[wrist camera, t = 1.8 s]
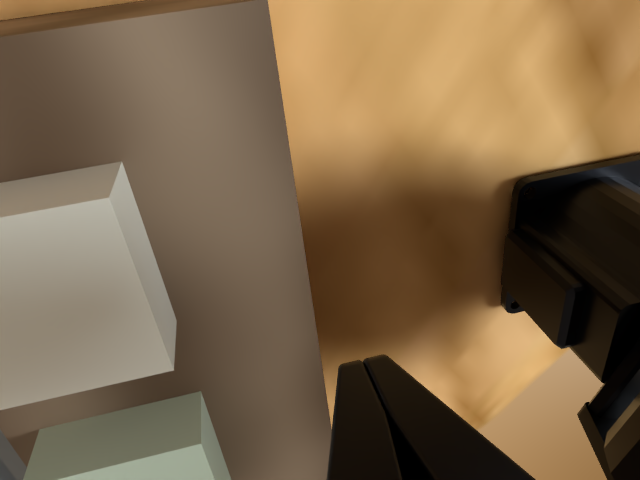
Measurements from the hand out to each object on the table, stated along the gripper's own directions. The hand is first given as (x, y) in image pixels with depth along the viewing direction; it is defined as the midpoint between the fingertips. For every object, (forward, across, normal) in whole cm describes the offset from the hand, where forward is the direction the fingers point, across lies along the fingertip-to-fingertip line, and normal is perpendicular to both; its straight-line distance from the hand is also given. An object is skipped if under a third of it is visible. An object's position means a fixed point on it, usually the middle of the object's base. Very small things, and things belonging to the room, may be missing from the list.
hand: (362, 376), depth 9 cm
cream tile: (+6, +7, 0) cm, 9 cm away
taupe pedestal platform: (+10, +5, +3) cm, 12 cm away
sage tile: (+6, +7, +8) cm, 12 cm away
